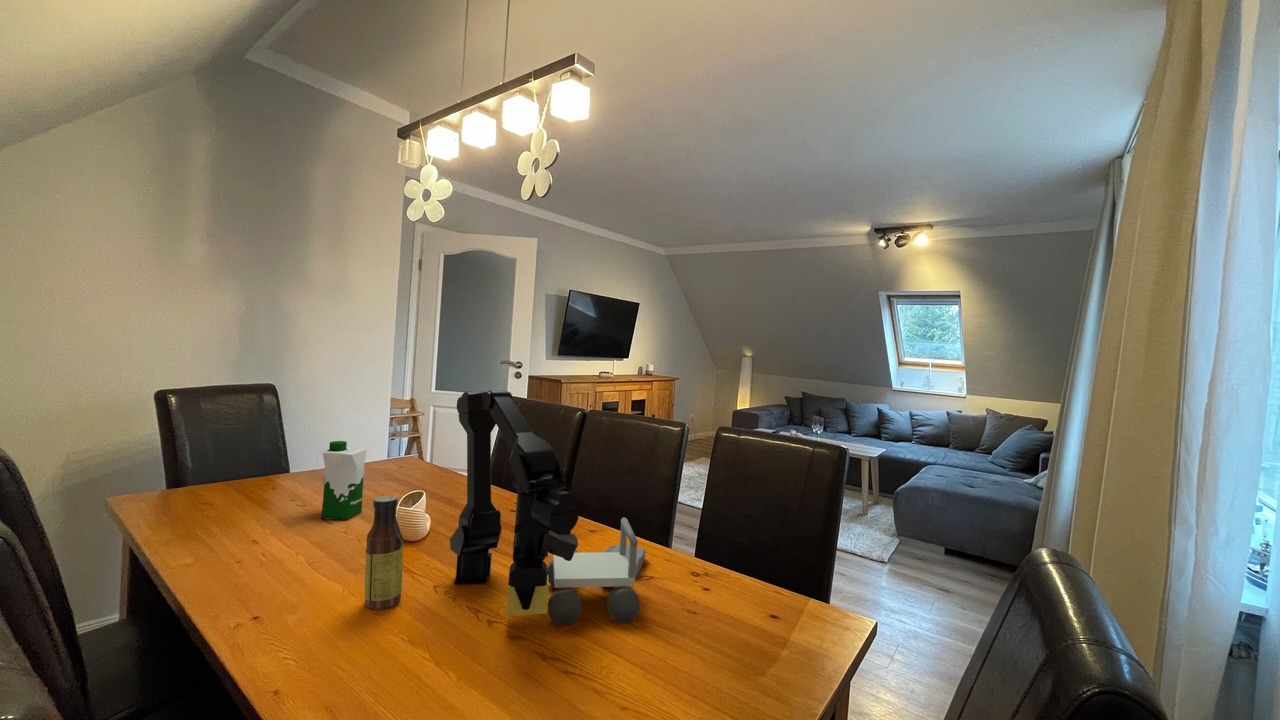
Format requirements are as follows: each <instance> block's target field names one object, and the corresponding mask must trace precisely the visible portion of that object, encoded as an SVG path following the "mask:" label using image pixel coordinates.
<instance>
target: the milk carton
mask: <svg viewBox="0 0 1280 720" xmlns="http://www.w3.org/2000/svg"><path fill="white" fill-rule="evenodd" d="M347 445H348V444H347V441H345V440H337V441H336V440H335V441H330V442H329V449H327V450H325V451H323V452H322V456H323V462H324V477H323V478H324V479H323V493H322V504H321V505H322V506H321V516H320V519H321V518H329V519H328V520H332V519H342V520H341V521H346V520H347V521H349V520H351V519H352V518H351V517H353V516H354V517H356V516H358V515H360V514H361V513H362V512H363V493H364V491H363V489H364V477H365V463H366V456H367V450H368V449H367V448H359V447H349V446H347ZM360 512H361V513H360ZM359 513H360V514H359ZM357 514H358V515H357ZM355 515H356V516H355ZM354 517H353V518H354ZM330 518H331V519H330ZM350 518H351V519H350ZM348 519H349V520H348Z"/></svg>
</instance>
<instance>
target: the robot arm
mask: <svg viewBox="0 0 1280 720" xmlns="http://www.w3.org/2000/svg"><path fill="white" fill-rule="evenodd" d="M456 410H457V413H458V421H459V423H460V425H461V426H462V428H463V430H464V431H465V432H466V446H467V447H466V451H467V452H466V467H467V468H466V475H467V476H466V481H467V482H466V483H467V484H466V487H467V488H466V489H467V490H466V493H467V494H466V499H467V500H466V503H465V505H464V507H463V508H462V511H461V513H460V514H459V518H458V527H457V528H456V529H455V531H454V532H453V534H452V535H451V537H450V538H449V546H450V547H449V548H450V550H451V551H452V552H453V553H454V554H455V555H456V569H455V570H456V573H455V578H454V580H453V584H454V585H461V584H462V585H467V584H468V585H469V584H486V583H487V582H488V578H489V577H490V576H491V573H492V561H493V560H492V559H493V553H492V552H490V550H491V549H497V548H498V545H499V541H500V538H501V535H502V534H501V533H502V530H503V529H502V524H501V523H502V522H501V517H502V513H501V512H500V510H499V509H497V508H496V507H495V506H494V504H493V502H492V431H493V430H494V429H495V427H496V426H497V428H498V429H499V431H500V433H501V435H502V437H503V439H504V440H505V442H506V444H507V446H508V448H509V450H510V457H509V464H510V466H511V470H512V473H513V475H514V477H515V479H516V480H515V481H514V482H513V483H512V487H513V488H515V489H517V493H516V504H515V505H516V506H515V507H516V509H515V520H514V521H515V523H514V530H513V531H514V532H513V533H514V536H513V537H514V538H513V547H512V549H513V550H512V561H513V562H512V563H511V564H510V566H509V571H508V572H509V573H508V584H507V586H508V585H509V586H511V587H514V588H515V591H516V593H517V596H518V598H519V601H520V603H521V606H522V609H523V610H528V609H529V608H530V604H531V601H532V598H533V594H534V591H535V588H536V586H545V585H547V568H548V564H547V563H546V562H545V561H544V560H545V559H546V558H548V557H549V556H548V555H549V554H551V555H556V556H559V557H562V558H564V560H567V561H571V560H572V558H573V555H574V553H576V550H577V548H578V546H579V541H578V537H577V536H576V535H575V533H572V530H573V529H574V528H575V527H576V525H577V523H578V521H579V517H580V516H579V514H580V511H579V510H578V505H577V504H576V503H575V502H574V501H573V500H571V494H570V492H569V491H565V490H561V489H566V488H567V483H566V475H565V474H564V471H563V469H562V466H561V463H560V460H559V457H558V455H557V453H556V451H555V449H554V448H553V447H552V446H551V445H550V444H549V442H547V440H545V439H543V438H541V437H539V436H537V435H535V433H534V432H533V431H532V429H531V428H530V426H529V424H528V423H527V420H525V418H524V416H523V415H522V414H521V411H520V410H519V408H518V407H517V406H516V404H515V403H514V400H513V395H512V393H511V392H510V391H507V390H505V389H501V390H497V389H496V390H493V389H491V390H488V391H465V392H463V393H462V395H461V396H459V397H458V399H457V401H456ZM551 478H552V479H551ZM545 479H546V480H545Z"/></svg>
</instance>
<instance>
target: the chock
mask: <svg viewBox="0 0 1280 720" xmlns="http://www.w3.org/2000/svg"><path fill="white" fill-rule="evenodd" d="M549 585H550V583H549V582H548V575H547V585H545V586H536V588H535V591H534V594H533V598H532V601H531V604H530V608H529V609H528V610H523V609H522V606H521V603H520V601H519V598H518V596H517V593H516V591H515V588H514V587H511V586H509V585H508V584H507V595H506V597H507V598H506V599H507V600H506V614H505V615H506V616H515V615H516V616H517V615H520V616H521V615H547V614H548V601H549V588H550V587H549Z"/></svg>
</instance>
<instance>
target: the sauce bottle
mask: <svg viewBox="0 0 1280 720" xmlns="http://www.w3.org/2000/svg"><path fill="white" fill-rule="evenodd" d="M398 504H399V503H398V497H397V496H394V495H382V496H377V497H375V498H374V499H373V505H372V506H373V508H374V511H373V513H374V515H373V516H374V519H373V523H372V526H371V529H370V530H369V532H367V535H366V550H365V576H364V577H365V578H364V600H365V601H364V604H365V606H366V607H367V608H369V609H370V610H376V611H377V610H386V609H390V608H392V607H394V606H396V605H397V604H399V602H400V601H401V598H402V592H403V565H404V564H403V559H404V558H403V557H404V556H403V555H404V553H403V551H404V550H403V549H404V540H403V539H404V538H403V534H402V532H401V529H400V527H399V522H398V520H397V506H398Z"/></svg>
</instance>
